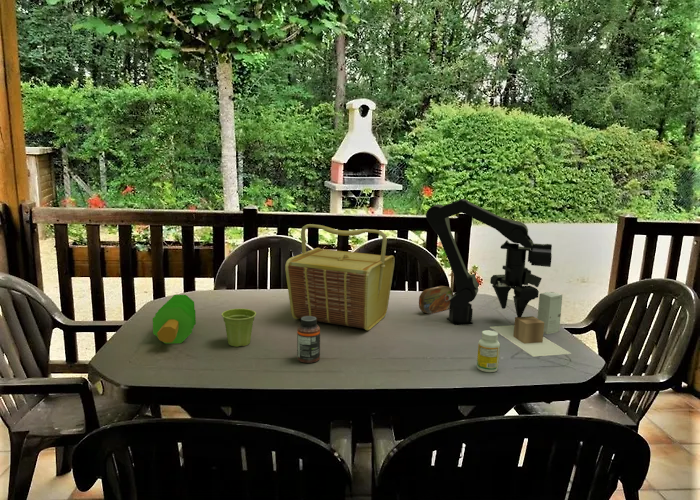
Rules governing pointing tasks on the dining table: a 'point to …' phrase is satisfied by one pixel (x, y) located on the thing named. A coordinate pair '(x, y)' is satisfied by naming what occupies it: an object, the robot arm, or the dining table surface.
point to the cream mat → (531, 348)
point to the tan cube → (528, 329)
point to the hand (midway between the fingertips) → (511, 312)
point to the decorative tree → (175, 320)
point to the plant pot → (238, 326)
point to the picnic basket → (340, 283)
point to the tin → (435, 299)
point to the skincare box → (550, 311)
